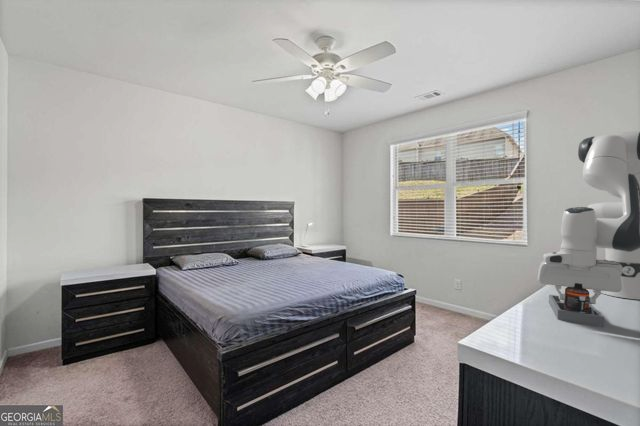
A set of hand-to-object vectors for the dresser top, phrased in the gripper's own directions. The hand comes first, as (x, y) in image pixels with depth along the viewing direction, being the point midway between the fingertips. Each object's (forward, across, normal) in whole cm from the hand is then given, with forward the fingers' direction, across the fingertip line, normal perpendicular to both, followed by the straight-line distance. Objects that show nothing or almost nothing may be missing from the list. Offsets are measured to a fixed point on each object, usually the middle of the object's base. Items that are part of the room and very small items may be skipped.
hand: (576, 301), depth 96 cm
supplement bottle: (+5, 0, 0) cm, 5 cm away
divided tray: (+6, 0, -5) cm, 7 cm away
